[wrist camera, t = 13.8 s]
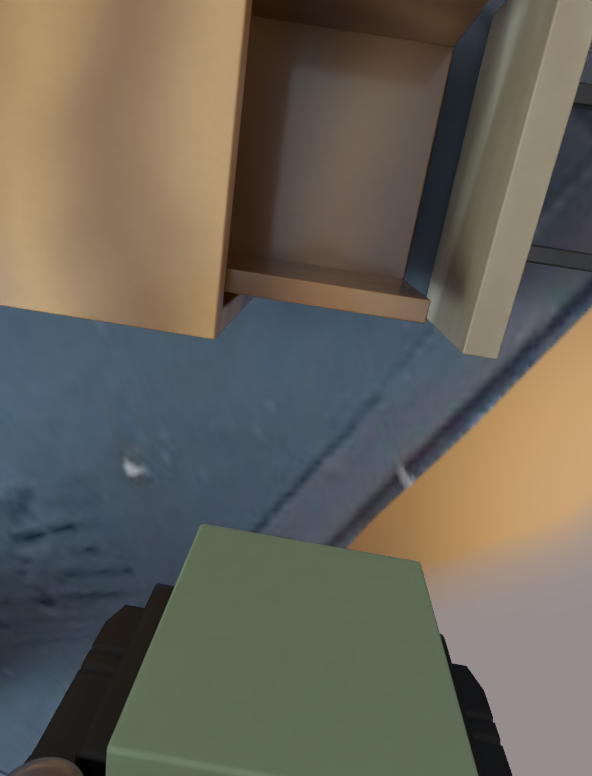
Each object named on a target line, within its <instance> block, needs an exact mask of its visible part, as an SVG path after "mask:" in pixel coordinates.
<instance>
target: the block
mask: <svg viewBox="0 0 592 776" xmlns="http://www.w3.org/2000/svg"><path fill="white" fill-rule="evenodd" d="M106 776H478V773H477V769H476V765H475V762H474V758H473V754H472V751H471V747H470V743H469V740H468V736H467V732H466V729H465V725H464V721H463V718H462V714H461V710H460V707H459V703H458V699H457V696H456V692H455V688H454V685H453V681H452V677H451V674H450V670H449V666H448V663H447V659H446V655H445V652H444V648H443V644H442V641H441V637H440V633H439V630H438V626H437V622H436V619H435V615H434V611H433V608H432V604H431V600H430V597H429V593H428V589H427V586H426V582H425V578H424V575H423V571H422V567H421V564H420V563H419V562H417V561H411V560H406V559H400V558H395V557H389V556H384V555H378V554H372V553H366V552H360V551H355V550H350V549H344V548H338V547H333V546H327V545H321V544H316V543H310V542H304V541H299V540H293V539H287V538H282V537H276V536H270V535H265V534H259V533H253V532H248V531H242V530H237V529H231V528H225V527H220V526H214V525H208V524H201V526H200V527H199V530H198V532H197V535H196V537H195V539H194V542H193V544H192V546H191V549H190V551H189V554H188V556H187V558H186V561H185V563H184V565H183V568H182V570H181V573H180V575H179V577H178V580H177V582H176V584H175V587H174V589H173V592H172V594H171V596H170V599H169V601H168V604H167V606H166V608H165V611H164V613H163V615H162V618H161V620H160V623H159V625H158V627H157V630H156V632H155V634H154V637H153V639H152V642H151V644H150V646H149V649H148V651H147V653H146V656H145V658H144V661H143V663H142V665H141V668H140V670H139V672H138V675H137V677H136V680H135V682H134V684H133V687H132V689H131V691H130V694H129V696H128V699H127V701H126V703H125V706H124V708H123V711H122V713H121V715H120V718H119V720H118V722H117V725H116V727H115V730H114V732H113V734H112V737H111V739H110V741H109V744H108V746H107V757H106Z"/></svg>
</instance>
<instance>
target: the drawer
mask: <svg viewBox="0 0 592 776" xmlns="http://www.w3.org/2000/svg"><path fill="white" fill-rule="evenodd" d="M488 1H489V0H252V10H251V20H250V30H249V41H248V51H247V61H246V71H245V82H244V92H243V102H242V112H241V123H240V133H239V143H238V153H237V164H236V174H235V184H234V194H233V205H232V215H231V225H230V235H229V246H228V256H227V266H226V276H225V287H224V292H229V293H235V294H241V295H247V296H254V297H260V298H266V299H273V300H279V301H285V302H292V303H298V304H304V305H311V306H317V307H323V308H330V309H336V310H342V311H348V312H355V313H361V314H367V315H374V316H380V317H386V318H393V319H399V320H405V321H412V322H418V323H425V322H426V318H427V319H428V320H429V321H430V322H431V323H432V324H433V325H434V326H435V327H436V328H437V329H438V330H439V331H440V332H441V333H442V334H443V335H444V336H445V337H446V338H447V339H448V340H449V341H450V342H451V343H452V344H453V345H454V346H455V347H456V348H457V349H458V350H459V351H461V352H462V353H463V354H466V355H472V356H478V357H485V358H491V359H497V358H498V355H499V352H500V348H501V345H502V342H503V338H504V335H505V331H506V328H507V325H508V321H509V318H510V315H511V311H512V308H513V305H514V301H515V298H516V294H517V291H518V288H519V284H520V281H521V278H522V274H523V271H524V268H525V264H526V262H531V263H538V264H544V265H550V266H557V267H563V268H570V269H576V270H582V271H589V272H592V254H590V253H583V252H577V251H571V250H564V249H558V248H551V247H545V246H539V245H532V241H533V237H534V234H535V230H536V227H537V224H538V220H539V217H540V214H541V210H542V207H543V204H544V200H545V197H546V193H547V190H548V187H549V183H550V180H551V177H552V173H553V170H554V166H555V163H556V160H557V156H558V153H559V150H560V146H561V143H562V140H563V136H564V133H565V129H566V126H567V123H568V119H569V116H570V113H571V109H572V108H577V109H584V110H590V111H592V84H586V83H580V79H581V76H582V72H583V69H584V65H585V62H586V59H587V55H588V52H589V49H590V45H591V42H592V0H506V1H505V2H504V4H503V5H502V6H501V7H500V9H499V10H498V11H497V12H496V14H495V15H494V16H493V18H492V22H491V26H490V30H489V35H488V39H487V43H486V47H485V52H484V56H483V60H482V64H481V69H480V73H479V77H478V81H477V86H476V90H475V94H474V98H473V102H472V107H471V111H470V115H469V119H468V124H467V128H466V132H465V136H464V141H463V145H462V149H461V153H460V158H459V162H458V166H457V170H456V174H455V179H454V183H453V187H452V191H451V196H450V200H449V204H448V208H447V213H446V217H445V221H444V225H443V229H442V234H441V238H440V242H439V246H438V251H437V255H436V259H435V263H434V268H433V272H432V276H431V280H430V285H429V289H428V293H427V297H425V296H424V295H423V294H422V293H420V292H419V291H418V290H417V289H415V288H414V287H413V286H411V285H410V284H409V283H408V282H406V281H405V280H404V277H405V273H406V268H407V263H408V259H409V254H410V250H411V245H412V240H413V236H414V231H415V227H416V222H417V217H418V213H419V208H420V204H421V199H422V195H423V190H424V185H425V181H426V176H427V172H428V167H429V162H430V158H431V153H432V149H433V144H434V140H435V135H436V130H437V126H438V121H439V117H440V112H441V107H442V103H443V98H444V94H445V89H446V85H447V80H448V75H449V71H450V66H451V62H452V57H453V52H454V48H455V45H456V44H457V43H458V41H459V40H460V39H461V37H462V36H463V35H464V33H465V32H466V31H467V29H468V28H469V26H470V25H471V24H472V22H473V21H474V20H475V18H476V17H477V16H478V14H479V13H480V12H481V10H482V9H483V7H484V6H485V5H486V3H487V2H488Z"/></svg>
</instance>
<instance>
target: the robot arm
mask: <svg viewBox="0 0 592 776" xmlns="http://www.w3.org/2000/svg"><path fill="white" fill-rule="evenodd" d="M174 587H175V586H171V585H166V584H160V583H158V584H156V586H155V587H154V589H153V591H152V594H151V596H150V598H149V600H148V602H147V604H146V606H145V608H140V607H135V606H129V605H125V606H124V607H123V608H122V609H120V610H119V611H118V612H117V613H116V614H114V615H113V616H112V617H111V618H110V619H109V620H107V621H106V622H105V624H104V625H103V627H102V629H101V631H100V633H99V634H98V636H97V638H96V640H95V642H94V644H93V645H92V649H91V650H90V651H89V653H88V654H87V656H86V658H85V660H84V662H83V663H82V666H81V669H80V670H79V671H78V672H77V674H76V676H75V678H74V680H73V681H72V683H71V685H70V687H69V689H68V690H67V692H66V694H65V696H64V698H63V699H62V701H61V703H60V705H59V707H58V708H57V710H56V712H55V714H54V716H53V717H52V719H51V721H50V723H49V725H48V726H47V728H46V730H45V732H44V734H43V735H42V737H41V739H40V741H39V743H38V744H37V746H36V748H35V749H34V751H33V752H32V754H31V755H30V757H29V758H28V759H27V760H26V762H25V763H24V764H23V765H21V766H19V767H17V768H16V769H14V770H13V771H11V772H10V773H9V774H7V775H6V776H106V757H107V746H108V744H109V741H110V739H111V737H112V734H113V732H114V730H115V727H116V725H117V722H118V720H119V718H120V715H121V713H122V711H123V708H124V706H125V703H126V701H127V699H128V696H129V694H130V691H131V689H132V687H133V684H134V682H135V680H136V677H137V675H138V672H139V670H140V668H141V665H142V663H143V661H144V658H145V656H146V653H147V651H148V649H149V646H150V644H151V642H152V639H153V637H154V634H155V632H156V630H157V627H158V625H159V623H160V620H161V618H162V615H163V613H164V611H165V608H166V606H167V604H168V601H169V599H170V596H171V594H172V592H173V589H174ZM440 637H441V641H442V644H443V648H444V652H445V655H446V659H447V663H448V666H449V670H450V674H451V677H452V681H453V685H454V688H455V692H456V696H457V699H458V703H459V707H460V710H461V714H462V718H463V721H464V725H465V729H466V732H467V736H468V740H469V743H470V747H471V751H472V754H473V758H474V762H475V765H476V769H477V773H478V776H512V773H511V770H510V767H509V764H508V761H507V758H506V755H505V752H504V749H503V746H501V745H500V737H499V734H498V731H497V728H496V725H495V723H493V716H492V713H491V710H490V707H489V704H488V701H487V698H486V695H485V693H484V690H483V689H482V687H481V686H480V684H479V683H478V682H477V680H476V679H475V677H474V676H473V675H472V673H471V672H470V670H469V669H468V668H467V666H463V665H458V664H452V663H451V659H450V656H449V652H448V649H447V645H446V642H445V639H444V637H443V635H442V634H440Z"/></svg>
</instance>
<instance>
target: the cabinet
mask: <svg viewBox="0 0 592 776" xmlns="http://www.w3.org/2000/svg"><path fill="white" fill-rule="evenodd" d="M251 10H252V0H0V305H1V306H8V307H14V308H20V309H26V310H33V311H39V312H45V313H52V314H58V315H64V316H70V317H77V318H83V319H89V320H95V321H102V322H108V323H114V324H121V325H127V326H133V327H139V328H146V329H152V330H158V331H165V332H171V333H177V334H183V335H190V336H196V337H202V338H209V339H215V338H216V337H217V336H218V335H219V333H221V331H222V330H223V329H224V328H225V327H226V326H227V325H228V324H229V323H230V322H231V321H232V320H233V319H234V318H235V317H236V316H237V315H238V313H239V312H240V311H241V310H242V309H243V308H244V307H245V306H246V305H247V304H248V303H249V302H250V301H251V300H252V299H253V297H254V296H247V295H241V294H235V293H229V292H224V287H225V276H226V266H227V256H228V246H229V235H230V225H231V215H232V205H233V194H234V184H235V174H236V164H237V153H238V143H239V133H240V123H241V112H242V102H243V92H244V82H245V71H246V61H247V51H248V41H249V30H250V20H251Z"/></svg>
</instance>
